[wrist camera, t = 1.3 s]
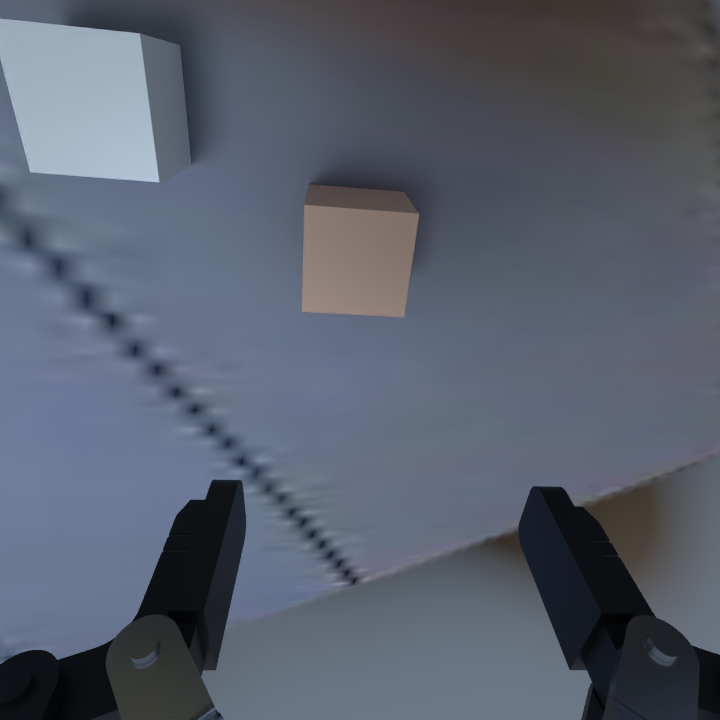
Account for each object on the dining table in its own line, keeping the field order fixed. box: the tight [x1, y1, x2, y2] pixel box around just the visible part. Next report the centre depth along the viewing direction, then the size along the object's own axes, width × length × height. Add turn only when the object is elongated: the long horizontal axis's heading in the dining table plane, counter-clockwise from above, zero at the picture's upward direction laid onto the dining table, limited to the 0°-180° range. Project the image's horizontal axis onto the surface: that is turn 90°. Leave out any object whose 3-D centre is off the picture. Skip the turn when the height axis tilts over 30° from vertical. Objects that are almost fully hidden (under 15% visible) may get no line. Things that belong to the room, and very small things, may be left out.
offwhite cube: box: [0, 19, 191, 182], centre depth 21 cm, size 6×6×6 cm
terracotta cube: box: [302, 184, 419, 317], centre depth 25 cm, size 6×6×6 cm
